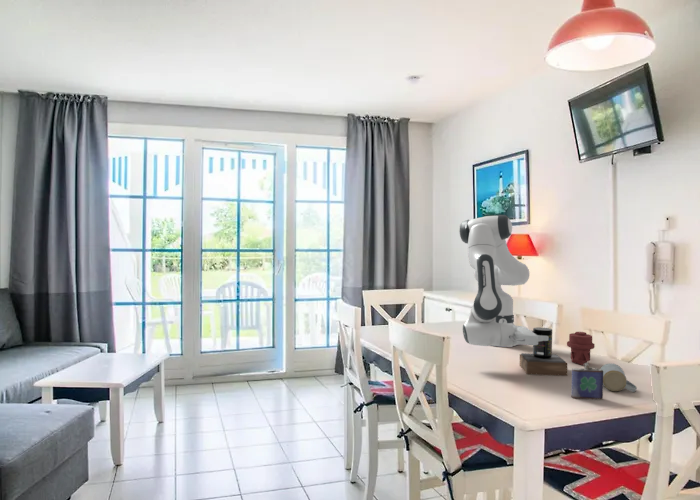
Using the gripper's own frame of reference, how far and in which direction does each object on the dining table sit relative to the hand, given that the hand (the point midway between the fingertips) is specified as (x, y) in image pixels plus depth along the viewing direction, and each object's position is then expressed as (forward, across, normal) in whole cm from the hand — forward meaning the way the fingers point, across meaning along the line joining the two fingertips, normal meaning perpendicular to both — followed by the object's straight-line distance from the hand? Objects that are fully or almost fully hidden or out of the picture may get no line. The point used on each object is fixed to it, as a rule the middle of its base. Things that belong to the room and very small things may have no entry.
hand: (545, 336), depth 188 cm
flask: (+4, -33, +13) cm, 36 cm away
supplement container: (-1, 0, +8) cm, 8 cm away
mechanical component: (+17, +14, +13) cm, 26 cm away
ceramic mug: (+18, -22, +13) cm, 31 cm away
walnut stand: (-1, 0, +13) cm, 13 cm away
